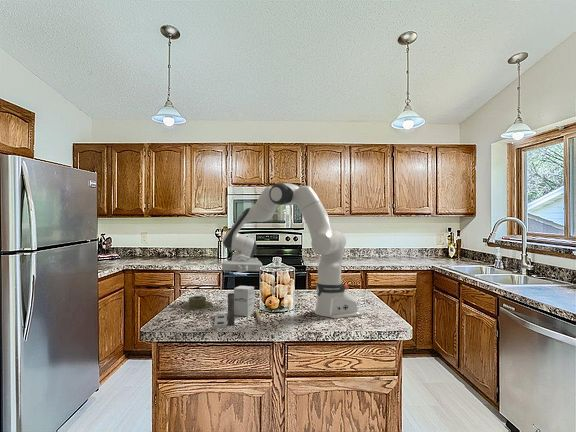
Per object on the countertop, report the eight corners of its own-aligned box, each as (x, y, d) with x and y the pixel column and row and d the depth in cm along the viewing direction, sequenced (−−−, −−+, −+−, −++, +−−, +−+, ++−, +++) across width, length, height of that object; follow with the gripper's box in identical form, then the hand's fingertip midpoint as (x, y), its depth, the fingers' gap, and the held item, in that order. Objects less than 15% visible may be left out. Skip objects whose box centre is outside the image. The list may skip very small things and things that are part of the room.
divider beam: (257, 311, 173) (257, 284, 173) (261, 324, 152) (261, 293, 152) (227, 312, 170) (227, 285, 170) (227, 325, 149) (227, 294, 149)
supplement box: (233, 315, 165) (233, 288, 165) (240, 311, 172) (240, 285, 172) (247, 316, 163) (247, 289, 163) (254, 312, 170) (254, 286, 170)
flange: (181, 295, 187) (183, 302, 173) (210, 293, 192) (214, 299, 178) (181, 304, 187) (183, 311, 173) (210, 302, 192) (214, 309, 178)
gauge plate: (226, 316, 163) (226, 314, 163) (226, 327, 147) (226, 324, 147) (215, 317, 162) (215, 314, 162) (213, 328, 146) (213, 325, 146)
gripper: (221, 257, 187) (222, 263, 173) (260, 257, 191) (264, 263, 178) (220, 268, 187) (221, 275, 174) (259, 269, 192) (263, 276, 178)
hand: (243, 269), depth 176 cm, fingers closed
